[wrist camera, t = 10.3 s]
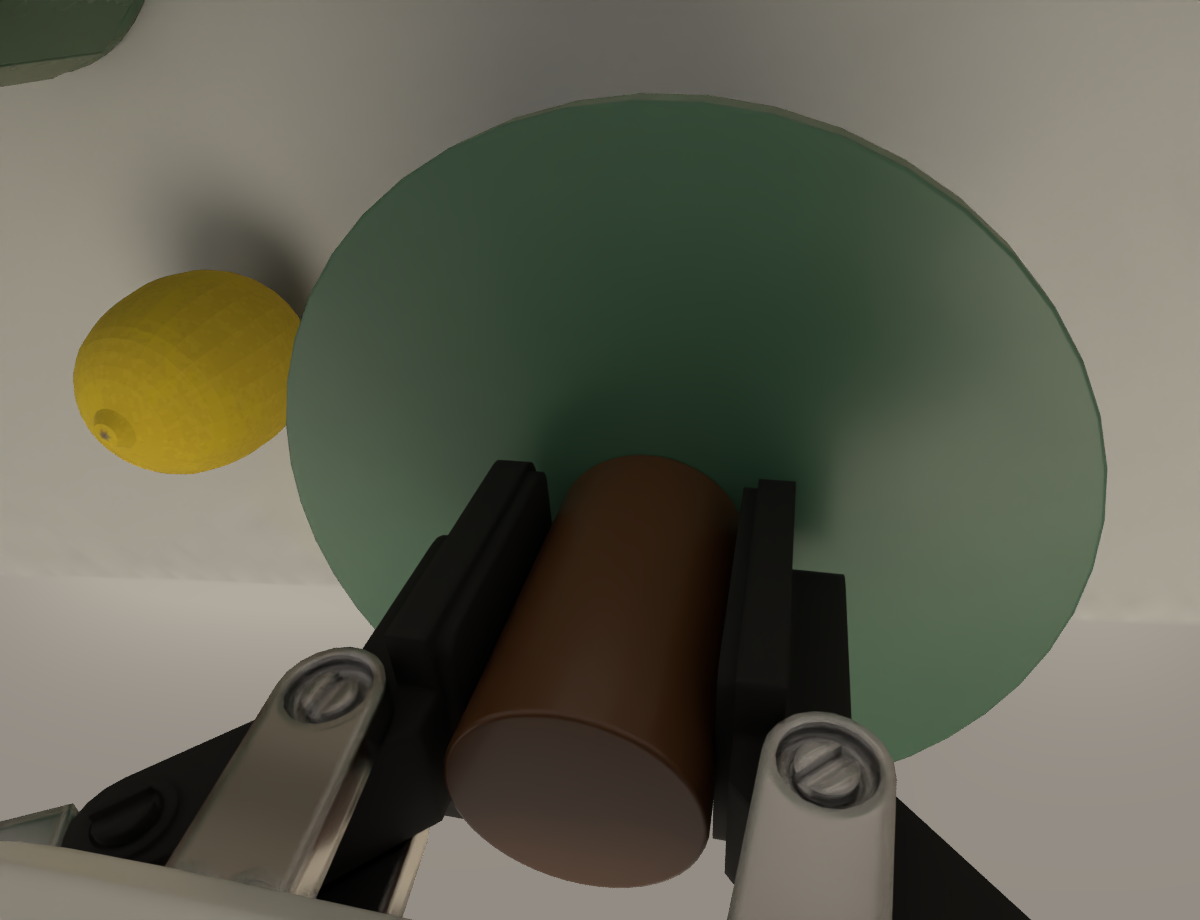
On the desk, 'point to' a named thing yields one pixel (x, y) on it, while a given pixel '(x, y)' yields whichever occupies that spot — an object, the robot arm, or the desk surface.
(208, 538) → the desk surface
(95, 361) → the lemon
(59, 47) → the pot
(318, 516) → the pot lid
